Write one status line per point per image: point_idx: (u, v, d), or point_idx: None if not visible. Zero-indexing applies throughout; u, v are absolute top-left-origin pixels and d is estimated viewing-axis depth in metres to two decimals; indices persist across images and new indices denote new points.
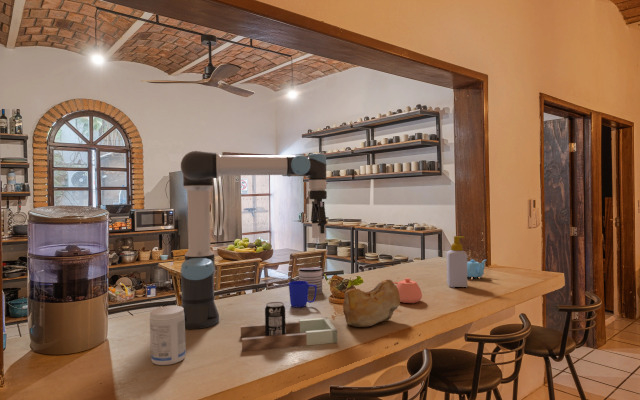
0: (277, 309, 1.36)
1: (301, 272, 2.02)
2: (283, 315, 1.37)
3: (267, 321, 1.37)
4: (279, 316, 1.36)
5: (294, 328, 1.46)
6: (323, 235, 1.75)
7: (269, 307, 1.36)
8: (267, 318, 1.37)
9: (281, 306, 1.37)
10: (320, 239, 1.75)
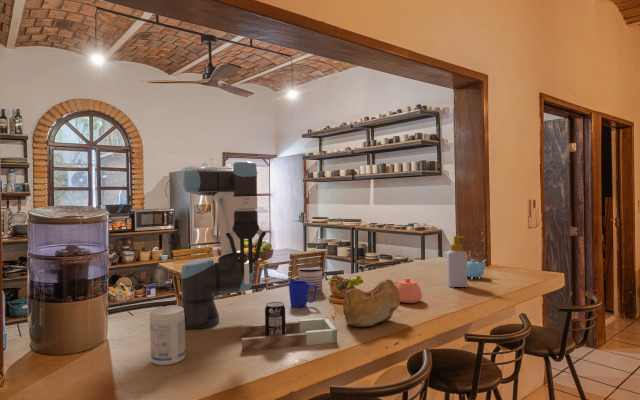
0: (277, 309, 1.36)
1: (301, 272, 2.02)
2: (283, 315, 1.37)
3: (267, 321, 1.37)
4: (279, 316, 1.36)
5: (294, 328, 1.46)
6: (244, 276, 1.36)
7: (269, 307, 1.36)
8: (267, 318, 1.37)
9: (281, 306, 1.37)
10: None
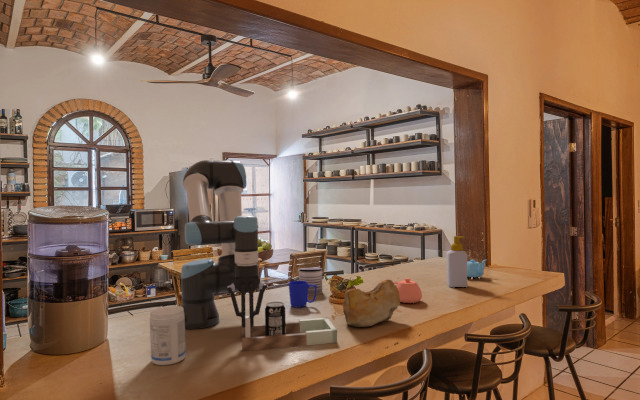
0: (277, 309, 1.36)
1: (301, 272, 2.02)
2: (283, 315, 1.37)
3: (267, 321, 1.37)
4: (279, 316, 1.36)
5: (294, 328, 1.46)
6: (245, 330, 1.36)
7: (269, 307, 1.36)
8: (267, 318, 1.37)
9: (281, 306, 1.37)
10: (245, 333, 1.37)
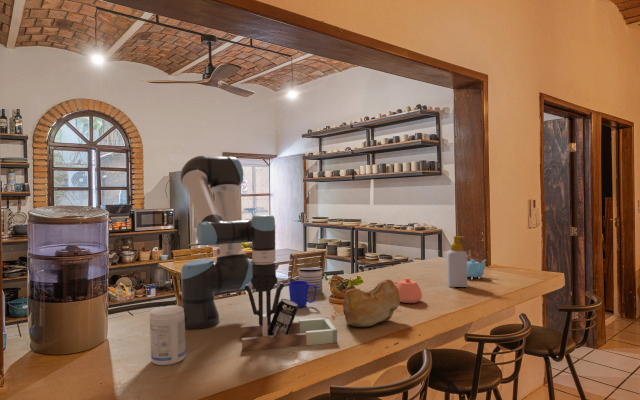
0: (291, 307, 1.37)
1: (301, 272, 2.02)
2: (293, 315, 1.38)
3: (277, 315, 1.37)
4: (290, 315, 1.37)
5: (294, 328, 1.46)
6: (262, 328, 1.37)
7: (284, 303, 1.37)
8: (278, 312, 1.37)
9: (295, 306, 1.38)
10: (262, 332, 1.38)
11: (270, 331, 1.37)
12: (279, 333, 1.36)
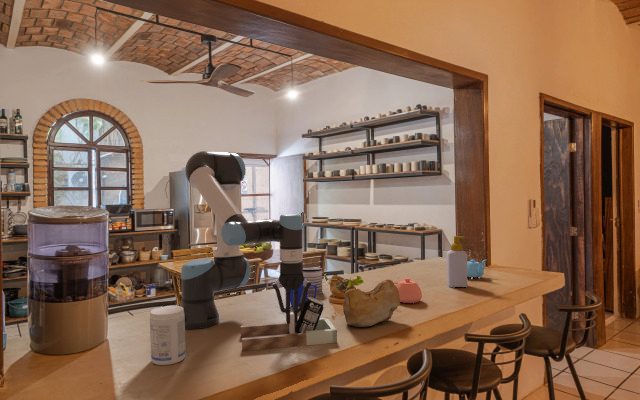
0: (318, 305, 1.39)
1: None
2: (320, 314, 1.40)
3: (304, 313, 1.39)
4: (317, 313, 1.38)
5: (294, 328, 1.46)
6: (290, 326, 1.39)
7: (311, 301, 1.39)
8: (305, 310, 1.39)
9: (321, 304, 1.40)
10: (289, 330, 1.40)
11: (297, 329, 1.39)
12: (306, 330, 1.38)
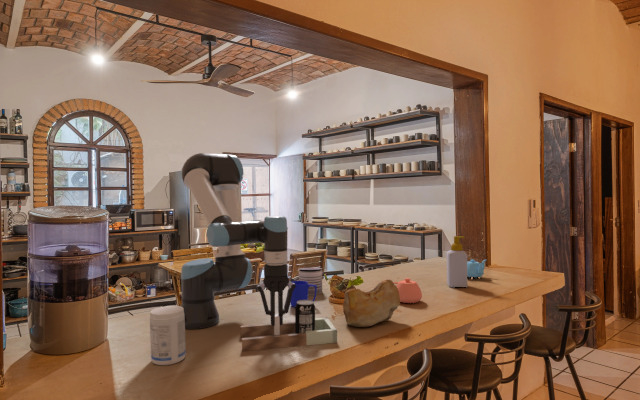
0: (308, 306, 1.38)
1: (301, 272, 2.02)
2: (313, 313, 1.39)
3: (298, 319, 1.38)
4: (310, 314, 1.38)
5: (294, 328, 1.46)
6: (274, 328, 1.39)
7: (300, 305, 1.38)
8: (298, 316, 1.38)
9: (312, 304, 1.39)
10: (274, 332, 1.40)
11: None
12: None
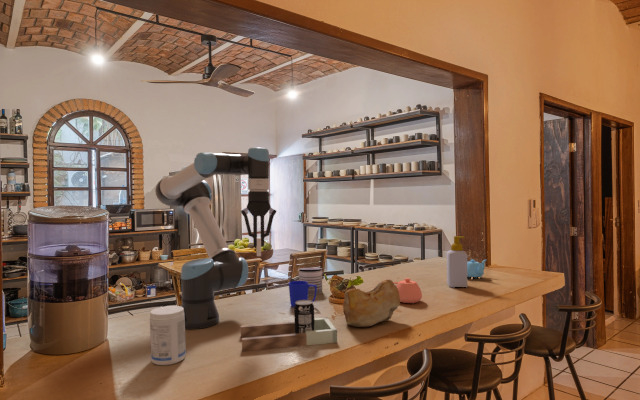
0: (306, 307, 1.38)
1: (301, 272, 2.02)
2: (312, 313, 1.39)
3: (297, 319, 1.38)
4: (309, 314, 1.38)
5: (294, 328, 1.46)
6: None
7: (298, 305, 1.38)
8: (297, 316, 1.38)
9: (310, 304, 1.39)
10: None
11: None
12: None
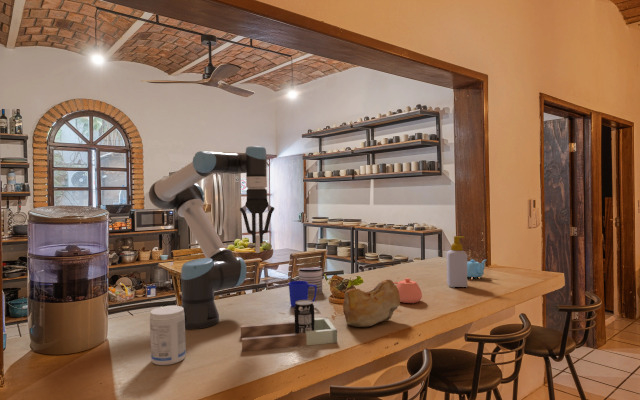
0: (306, 307, 1.38)
1: (301, 272, 2.02)
2: (312, 313, 1.39)
3: (297, 319, 1.38)
4: (309, 314, 1.38)
5: (294, 328, 1.46)
6: (255, 245, 1.56)
7: (299, 305, 1.38)
8: (297, 316, 1.38)
9: (310, 304, 1.39)
10: (255, 249, 1.58)
11: None
12: None
